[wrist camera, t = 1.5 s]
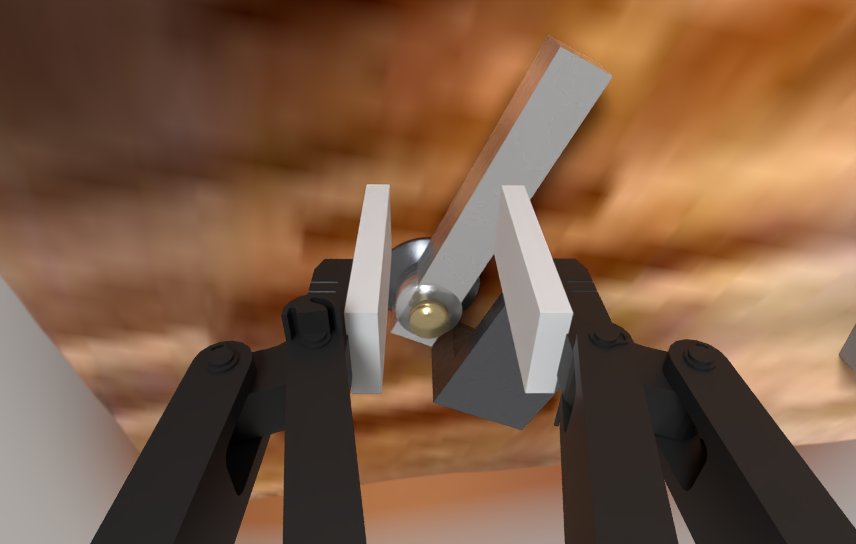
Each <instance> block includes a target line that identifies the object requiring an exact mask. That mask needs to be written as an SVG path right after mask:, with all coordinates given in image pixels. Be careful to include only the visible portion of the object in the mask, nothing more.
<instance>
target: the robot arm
mask: <svg viewBox="0 0 856 544" xmlns="http://www.w3.org/2000/svg"><path fill="white" fill-rule="evenodd" d="M494 255H495V260H496V264H497V269H498V273H499V278H500V282H501V287H502V291H503V296H504V300H505V305H506V309H507V314H508V318H509V323H510V327H511V332H512V336H513V341H514V345H515V350H516V354H517V359H518V363H519V368H520V372H521V377H522V381H523V385H524V390H525V393H554V391H555V387H556V383H557V379H558V381H559V384H560V388H561V391H562V395H561V399H560V403H559V407H558V411H557V415H556V419H555V423H554V426H559V423H560V445H561V467H562V487H563V488H562V490H563V512H564V532H565V533H564V534H565V544H678V540H677V535H676V531H675V526H674V522H673V517H672V513H671V508H670V504H669V499H668V495H667V491H666V486H665V482H666V484H667V486H668V488H669V490H670V492H671V494H672V496H673V498H674V500H675V502H676V505H677V507H678V509H679V510H680V513H681V515H682V517H683V519H684V521H685V523H686V525H687V527H688V529H689V531H690V533H691V535H692V537H693V539H694V541H695V544H856V529H855V527H854V526H853V525H852V524H851V522H850V521H849V520H848V518H847V517H846V515H845V514H844V513H843V511H842V510H841V509H840V508H839V506H838V505H837V504H836V502H835V501H834V500H833V498H832V497H831V496H830V495H829V493H828V492H827V490H826V489H825V488H824V486H823V485H822V484H821V482H820V481H819V480H818V478H817V477H816V476H815V474H814V473H813V472H812V470H811V469H810V468H809V467H808V465H807V464H806V462H805V461H804V460H803V458H802V457H801V456H800V454H799V453H798V452H797V451H796V449H795V448H794V446H793V445H792V444H791V442H790V441H789V440H788V439H787V437H786V436H785V435H784V433H783V432H782V431H781V429H780V428H779V427H778V425H777V424H776V423H775V421H774V420H773V419H772V417H771V416H770V415H769V413H768V412H767V411H766V409H765V408H764V407H763V405H762V404H761V403H760V401H759V400H758V399H757V397H756V396H755V395H754V393H753V392H752V391H751V389H750V388H749V387H748V385H747V384H746V383H745V381H744V380H743V379H742V377H741V376H740V375H739V373H738V372H737V371H736V370H735V368H734V367H733V366H732V364H731V363H730V362H729V360H728V359H727V358H726V357H725V356H724V355H723V354H722V353H721V352H720V351H719V350H717V349H716V348H714V347H712V346H711V345H709V344H706V343H703V342H700V341H697V340H688V339H685V340H680V341H676V342H675V343H673V344H672V345H671V346H670V348H669V351H668V352H666V351H662V350H658V349H653V348H649V347H645V346H642V345H638V344H636V343H634V342H633V340H632V338H631V336H630V334H629V333H628V332H626V331H625V330H624V329H623V328H622V327H620V326H618V325H616V324H614V323H612V322H611V319H610V317H609V315H608V313H607V311H606V309H605V307H604V304H603V302H602V300H601V298H600V296H599V294H598V292H597V291H596V287H595V285H594V283H592V279H591V277H590V275H589V272H588V270H587V269H586V268H585V267H584V266H583V265H582V264H581V263H579V262H578V261H577V260H576V259H552V257H551V254H550V251H549V249H548V246H547V244H546V241H545V238H544V236H543V233H542V231H541V228H540V225H539V223H538V220H537V217H536V215H535V212H534V210H533V207H532V204H531V202H530V199H529V197H528V194H527V191H526V189H525V186H524V185H502V186H501V195H500V205H499V214H498V223H497V232H496V241H495V250H494ZM391 256H392V247H391V213H390V185H385V184H367V186H366V192H365V197H364V203H363V209H362V214H361V220H360V226H359V231H358V237H357V243H356V248H355V254H354V259H324V260H323V261H322V262H321V263H320V264H319V265H318V266H317V267H316V268H315V270H314V273H313V277H312V280H311V284H310V287H309V293H308V295H305V296H301V297H298V298H296V299H294V300H292V301H291V302H289V303H288V304H287V305H286V306H285V307H284V309H283V312H282V315H281V317H282V322H283V327H284V332H285V337H286V342H284V343H282V344H280V345H278V346H275V347H272V348H269V349H265V350H260V351H256V352H251V350H250V348H249V347H248V346H247V345H245V344H243V343H241V342H236V341H225V342H219V343H216V344H213V345H211V346H209V347H207V348H205V349H204V350H202V351H201V352H199V354H198V355H197V356H196V357H195V358H194V360H193V361H192V363H191V365H190V367H189V368H188V370H187V372H186V374H185V375H184V377H183V379H182V381H181V383H180V384H179V386H178V388H177V390H176V392H175V393H174V395H173V397H172V399H171V400H170V402H169V404H168V406H167V408H166V409H165V411H164V413H163V415H162V417H161V418H160V420H159V422H158V424H157V425H156V427H155V429H154V431H153V433H152V434H151V436H150V438H149V440H148V442H147V443H146V445H145V447H144V449H143V450H142V452H141V454H140V456H139V458H138V459H137V461H136V463H135V465H134V466H133V468H132V470H131V472H130V474H129V475H128V477H127V479H126V481H125V483H124V484H123V486H122V488H121V490H120V491H119V493H118V495H117V497H116V499H115V500H114V502H113V504H112V506H111V508H110V509H109V511H108V513H107V515H106V516H105V518H104V520H103V522H102V524H101V525H100V527H99V529H98V531H97V533H96V534H95V536H94V538H93V540H92V542H91V543H90V544H234V543H235V539H236V537H237V534H238V531H239V528H240V525H241V522H242V519H243V516H244V513H245V510H246V507H247V504H248V501H249V498H250V495H251V492H252V489H253V486H254V483H255V480H256V477H257V474H258V471H259V468H260V465H261V462H262V459H263V456H264V453H265V450H266V447H267V444H268V441H269V438H270V435H271V434H273V433H276V432H280V431H283V430H285V453H284V508H283V511H284V512H283V544H366V535H365V526H364V517H363V508H362V499H361V490H360V481H359V472H358V463H357V454H356V445H355V436H354V427H353V418H352V410H351V401H350V390H351V385H352V394H382V383H383V369H384V355H385V341H386V327H387V312H388V298H389V284H390V270H391ZM664 480H665V481H664Z"/></svg>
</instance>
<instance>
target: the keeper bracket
mask: <svg viewBox="0 0 856 544" xmlns="http://www.w3.org/2000/svg"><path fill="white" fill-rule="evenodd" d="M431 238H432V237H424V238H417V239H413V240H409V241H406V242H404V243H402V244H400V245H398V246H396V247H395V248H393V249H392V256H391V270H390V284H389V298H388V309H390V310H391V311H392V306H393V304H394V303H395V301H396V292H397V281H398V278H399V276H400V274H401V273H402V272H403V271H404V270H405V269H406V268H407V267H409V266H410V265H412V264H414V263H417V262H418V261H419V259H420V257H421V256H422V254H423V252H424V250H425V249H426V247H427V245H428V243H429V242H430V240H431ZM479 286H480V277H478V278H477V280H476V281H475V283H474V284H473V286H472V287H471V289H470V290H469V292H468V293H467V295H466V296H465V298H464V299H463V301H462V302H461V303H462V312H463V311H464V310H466V309H467V308H468V307H469V306H470V305H471V303H472V302H473V301H474V299H475V297H476V295H477V293H478V290H479ZM409 326H410V329H411V331H412V332H413V333H414V334H415V335H417V336H419V337H421V338H426V339H432V338H437V337H439V336H440V338H439V339H438V341H437V342H436V344H435V345H434V347H433V348H432V380H433V403H435V404H439V405H442V406H445V407H448V408H452V409H455V410H458V411H461V412H464V413H468V414H471V415H474V416H477V417H481V418H484V419H487V420H490V421H494V422H497V423H500V424H503V425H507V426H510V427H513V428H516V429H519V430H522V429H523V428H524V427H525V426H526V425H527V424H528V423H529V422H530V420H531V419H532V418H533V417H534V416H535V415H536V414H537V413H538V412H539V411H540V410H541V409H542V408H543V406H544V405H545V404H546V403H547V402H548V401H549V400H550V399H551V398H552V397H553V396H554V395H555V393H556V392H557V391H558V390H559V389H560V384H559V381H558V379H557V383H556V387H555V391H554V393H525V390H524V385H523V381H522V377H521V372H520V368H519V363H518V359H517V354H516V350H515V345H514V341H513V336H512V332H511V327H510V323H509V318H508V314H507V309H506V305H505V300H504V296H503V292H502V293H501V295H500V296H499V297H498V299H497V300H496V302H495V303H494V304H493V306H492V307H491V309H490V310H489V311H488V313H487V314H486V316H485V317H484V318H483V320H482V321H481V323H480V324H479V325H478V327H477V328H476V329H474V328H471V327H469V326H466V325H463V324H460V323H458V324H457V325H456V326H455V327H454V328H453V329H451V330H450V331H448V332H446V331H447V330H448V328H449V313H448V309H447V307H446V306H445V305H444V304H443V303H441V302H439V301H437V300H432V299H426V300H422V301H419V302H417V303H416V304H414V305H413V306H412V308H411V310H410V314H409ZM445 332H446V333H445Z"/></svg>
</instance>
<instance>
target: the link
mask: <svg viewBox="0 0 856 544" xmlns="http://www.w3.org/2000/svg"><path fill="white" fill-rule="evenodd" d="M612 77H613V76H612V75H611V74H610V73H609V72H608V71H607V70H606V69H604V68H603V67H602V66H601V65H600V64H599V63H598V62H596V61H594V60H593V59H591V58H589V57H587V56H585V55H584V54H582V53H580V52H578V51H577V50H575V49H573V48H571V47H569V46H568V45H566V44H564V43H562V42H561V41H559V40H557V39H555V38H553V37H552V36H550V35H548V36H547V38H546V40H545V41H544V43H543V45H542V47H541V48H540V50H539V52H538V54H537V55H536V57H535V59H534V60H533V62H532V64H531V66H530V67H529V69H528V71H527V73H526V74H525V76H524V78H523V80H522V81H521V83H520V85H519V87H518V88H517V90H516V92H515V94H514V95H513V97H512V99H511V101H510V102H509V104H508V106H507V107H506V109H505V111H504V113H503V114H502V116H501V118H500V120H499V121H498V123H497V125H496V127H495V128H494V130H493V132H492V134H491V135H490V137H489V139H488V141H487V142H486V144H485V146H484V148H483V149H482V151H481V153H480V155H479V156H478V158H477V160H476V161H475V163H474V165H473V167H472V168H471V170H470V172H469V174H468V175H467V177H466V179H465V181H464V182H463V184H462V186H461V188H460V189H459V191H458V193H457V195H456V196H455V198H454V200H453V202H452V203H451V205H450V207H449V209H448V210H447V212H446V214H445V215H444V217H443V219H442V221H441V222H440V224H439V226H438V228H437V229H436V231H435V233H434V235H433V236H432V238H431V240H430V242H429V243H428V245H427V247H426V249H425V250H424V252H423V254H422V256H421V257H420V259H419V261H418V262H417V263H414V264H412V265H410V266H409V267H407V268H406V269H405V270H404V271H403V272H402V273H401V274H400V276H399V278H398V281H397V292H396V301H395V303H394V304H393V306H392V317H391V333H393V334H396V335H399V336H402V337H405V338H408V339H411V340H414V341H417V342H420V343H423V344H426V345H428V346H431V347H432V345H433V344H434V342H435V341H436V340H437V338H438V337H437V338H432V339H426V338H421V337H419V336H417V335H415V334H414V333H413V332H412V331H411V329H410V326H409V314H410V310H411V308H412V306H413V305H414V304H416V303H417V302H419V301H422V300H426V299H432V300H437V301H439V302H441V303H443V304H444V305H445V306H446V307H447V309H448V313H449V328H448V330H447V331H446V332H448V331H450V330H451V329H453V328H454V327H455V326H456V325H457V324H458V322H459V321H460V319H461V316H462V303H461V302H462V301H463V299H464V298H465V296H466V295H467V293H468V292H469V290H470V289H471V287H472V286H473V284H474V283H475V281H476V280H477V278H478V277H479V275H480V274H481V272H482V271H483V269H484V268H485V266H486V265H487V263H488V262H489V260H490V259H491V257H492V256H493V254H494V250H495V241H496V232H497V223H498V214H499V205H500V195H501V186H502V185H524V186H525V189H526V191H527V194H528V197H529V199H531V198H532V196H533V195H534V193H535V192H536V190H537V189H538V187H539V186H540V184H541V183H542V181H543V180H544V178H545V177H546V175H547V174H548V172H549V171H550V169H551V168H552V166H553V165H554V163H555V162H556V160H557V159H558V157H559V156H560V155H561V153H562V152H563V150H564V149H565V147H566V146H567V144H568V143H569V141H570V140H571V138H572V137H573V135H574V134H575V132H576V131H577V129H578V128H579V126H580V125H581V123H582V122H583V120H584V119H585V117H586V116H587V114H588V113H589V111H590V110H591V108H592V107H593V105H594V104H595V102H596V101H597V99H598V98H599V96H600V95H601V93H602V92H603V90H604V89H605V87H606V86H607V84H608V83H609V81H610V80H611V78H612ZM446 332H445V333H446Z"/></svg>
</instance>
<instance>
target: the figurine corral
mask: <svg viewBox="0 0 856 544" xmlns="http://www.w3.org/2000/svg"><path fill="white" fill-rule="evenodd" d="M839 355H840V356H841V357H842V358H843V360H844V361H845V362H846V363H847V364H848V365H849V366H850V367H851V368H852V369H853V370H854V371H855V372H856V325H855V327H854V329H853V331H852V332H851V334H850V336H849V338H848V340H847V341H846V343H845V345H844V347H843V349H842V350H841V352H840V354H839Z"/></svg>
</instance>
